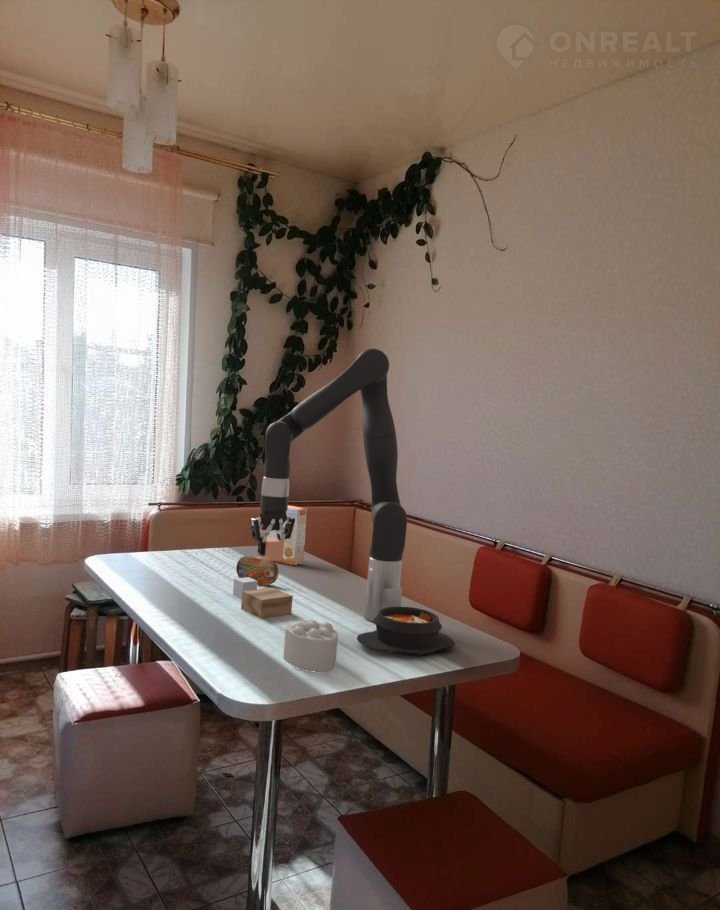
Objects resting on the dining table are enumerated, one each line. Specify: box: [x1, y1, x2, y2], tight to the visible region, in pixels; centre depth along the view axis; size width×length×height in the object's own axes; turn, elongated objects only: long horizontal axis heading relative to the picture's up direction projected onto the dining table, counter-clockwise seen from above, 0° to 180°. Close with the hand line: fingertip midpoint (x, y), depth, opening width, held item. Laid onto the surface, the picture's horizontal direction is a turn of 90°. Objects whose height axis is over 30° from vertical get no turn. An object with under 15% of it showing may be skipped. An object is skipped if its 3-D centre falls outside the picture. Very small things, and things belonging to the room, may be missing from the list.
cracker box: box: [267, 504, 308, 566], centre depth 262 cm, size 14×6×21 cm, turn 58°
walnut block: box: [240, 587, 294, 619], centre depth 198 cm, size 10×10×5 cm
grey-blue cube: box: [232, 577, 258, 600], centre depth 212 cm, size 5×5×5 cm
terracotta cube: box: [257, 538, 284, 560], centre depth 197 cm, size 5×5×5 cm
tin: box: [235, 555, 279, 587], centre depth 228 cm, size 15×3×8 cm, turn 62°
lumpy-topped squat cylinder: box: [282, 619, 339, 673], centre depth 161 cm, size 10×13×9 cm
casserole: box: [356, 606, 456, 656], centre depth 176 cm, size 25×19×8 cm
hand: (270, 554), depth 197 cm, fingers closed on terracotta cube, 5 cm apart
